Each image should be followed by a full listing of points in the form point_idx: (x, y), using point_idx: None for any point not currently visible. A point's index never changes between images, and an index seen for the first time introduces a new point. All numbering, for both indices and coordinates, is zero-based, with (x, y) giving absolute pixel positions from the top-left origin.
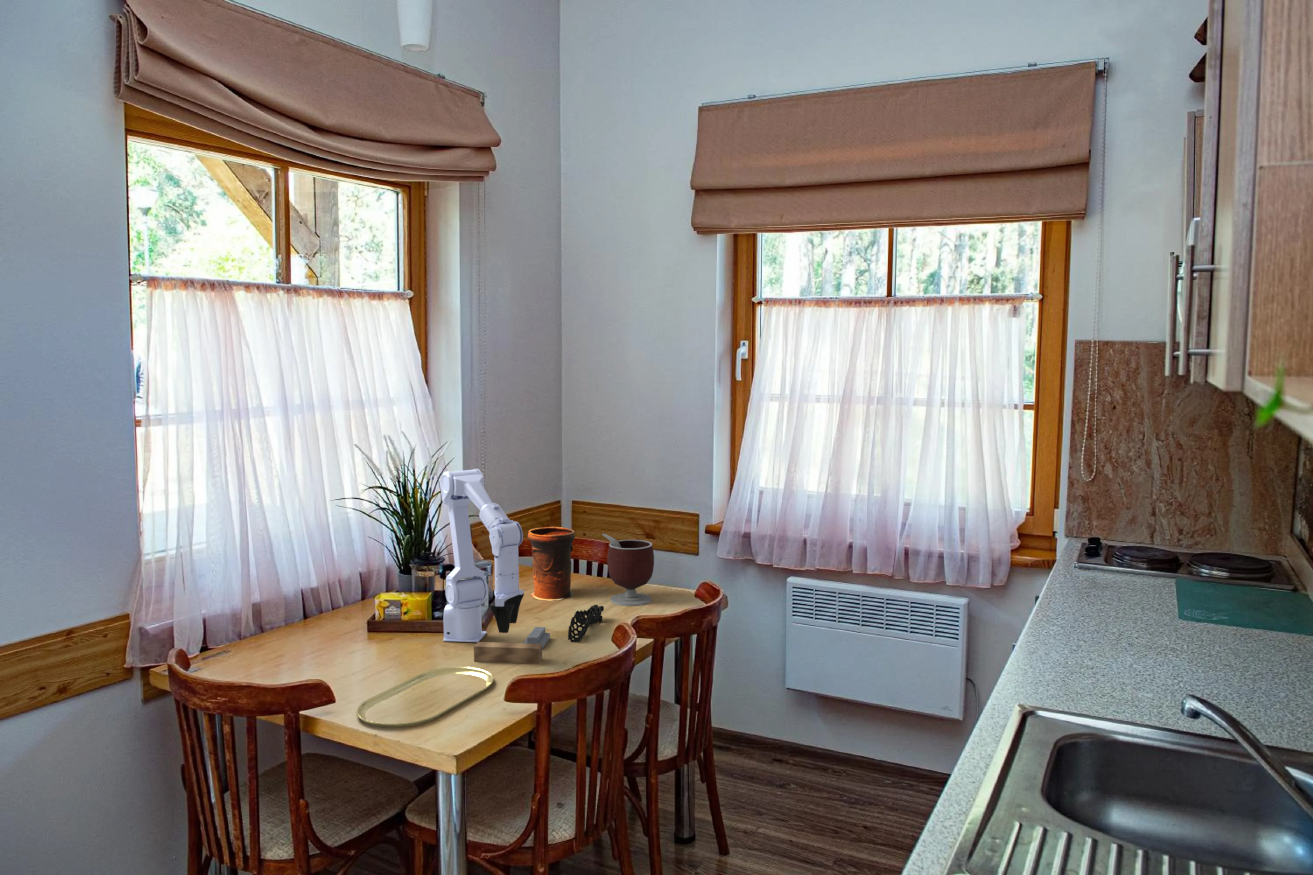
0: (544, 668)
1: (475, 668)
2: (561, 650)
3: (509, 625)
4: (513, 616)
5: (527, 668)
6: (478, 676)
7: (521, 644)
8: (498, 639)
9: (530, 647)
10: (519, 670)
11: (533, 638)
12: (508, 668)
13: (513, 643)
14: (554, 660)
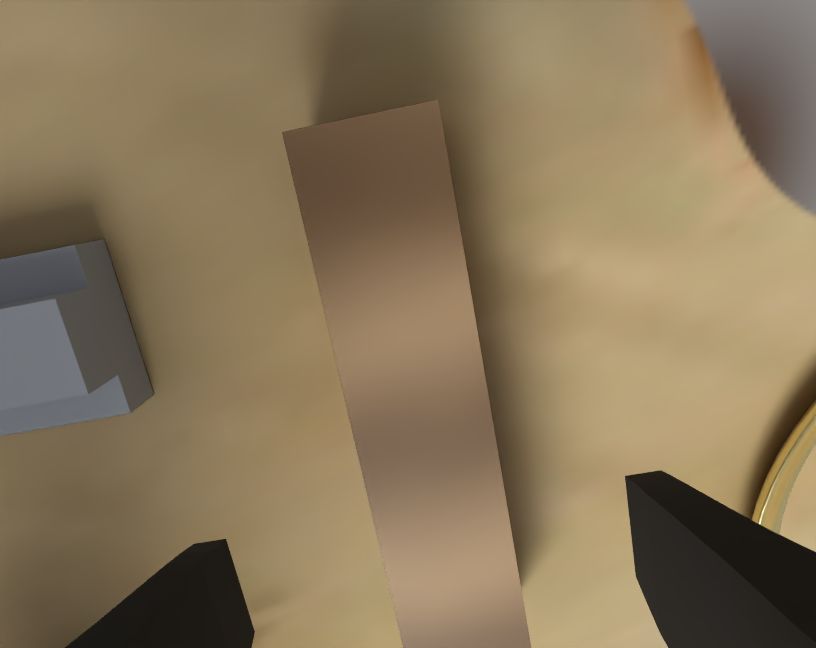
0: (543, 10)
1: (767, 509)
2: (55, 60)
3: (666, 510)
4: (193, 636)
5: (575, 161)
6: (812, 443)
7: (365, 334)
8: (40, 633)
9: (428, 205)
10: (635, 205)
11: (73, 334)
12: (608, 310)
13: (364, 418)
14: (321, 9)
